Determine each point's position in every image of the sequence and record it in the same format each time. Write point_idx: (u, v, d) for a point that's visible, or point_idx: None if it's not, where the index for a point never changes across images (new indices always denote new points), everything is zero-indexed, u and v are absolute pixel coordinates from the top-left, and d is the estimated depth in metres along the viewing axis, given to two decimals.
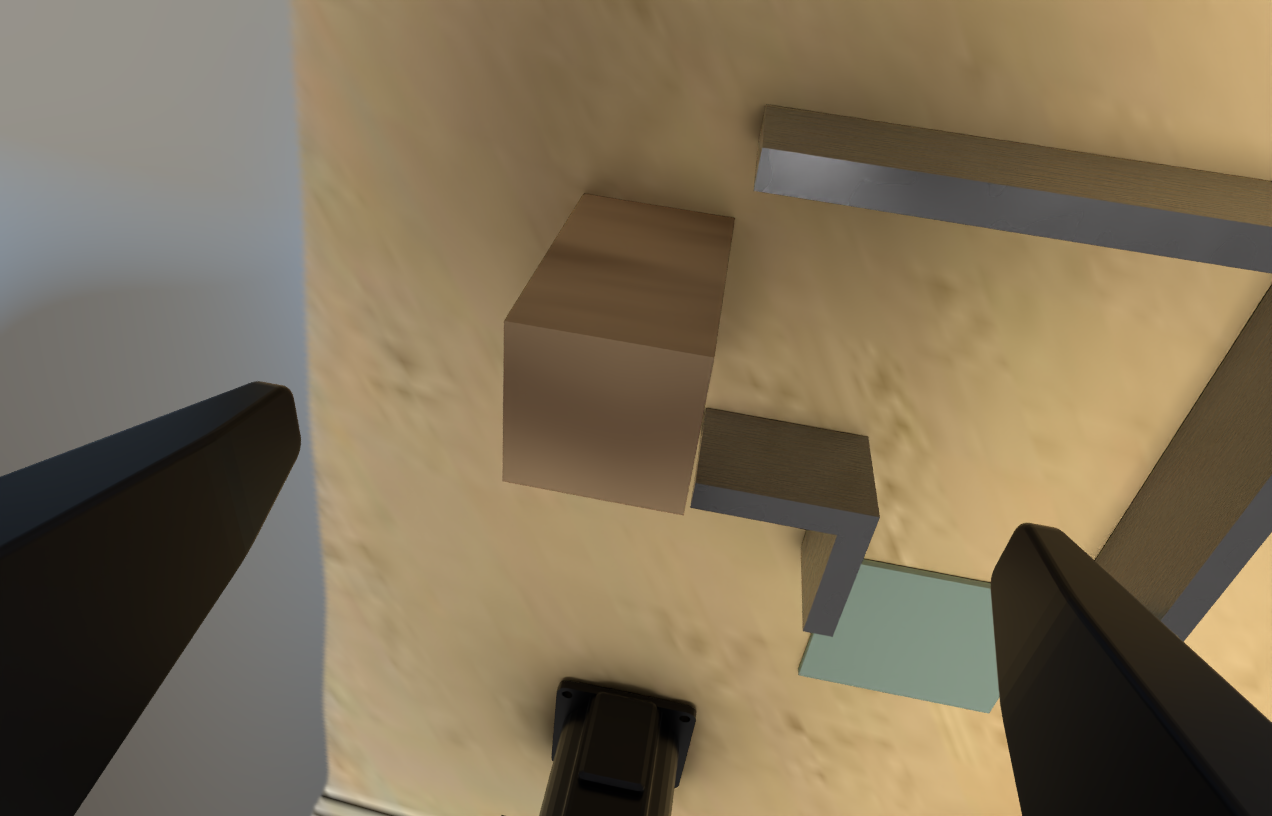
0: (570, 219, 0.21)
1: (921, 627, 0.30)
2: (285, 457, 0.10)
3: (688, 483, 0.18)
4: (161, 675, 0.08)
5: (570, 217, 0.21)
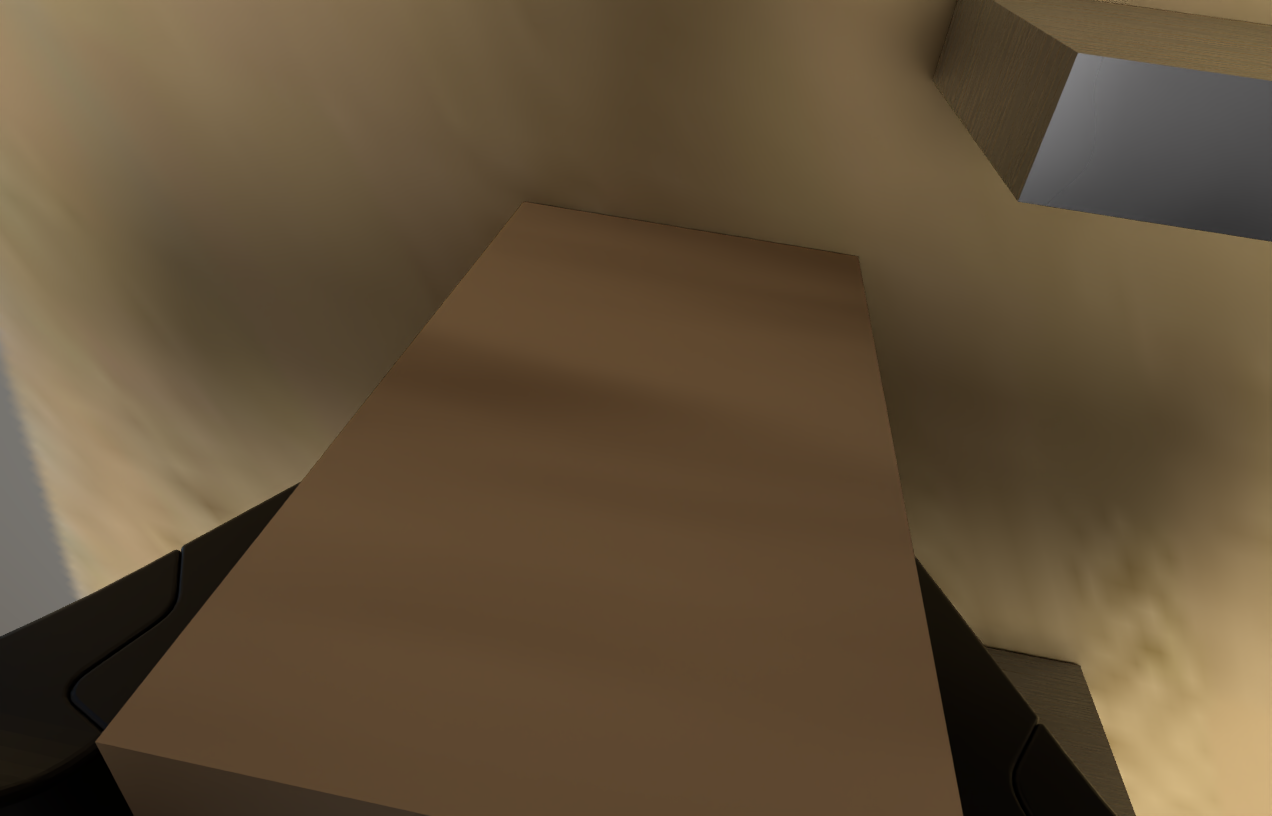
0: (480, 265, 0.09)
1: None
2: None
3: None
4: None
5: (481, 260, 0.09)
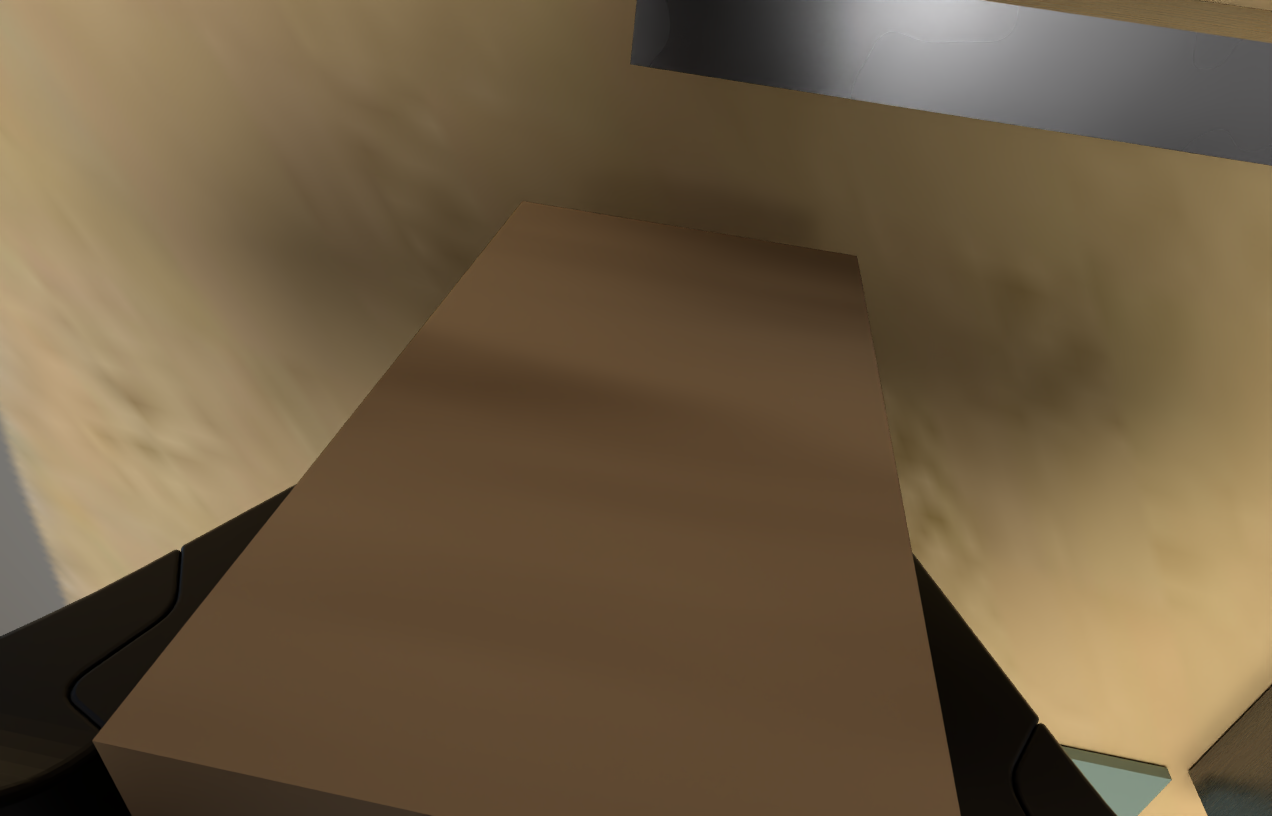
0: (478, 265, 0.09)
1: None
2: None
3: None
4: None
5: (479, 259, 0.09)
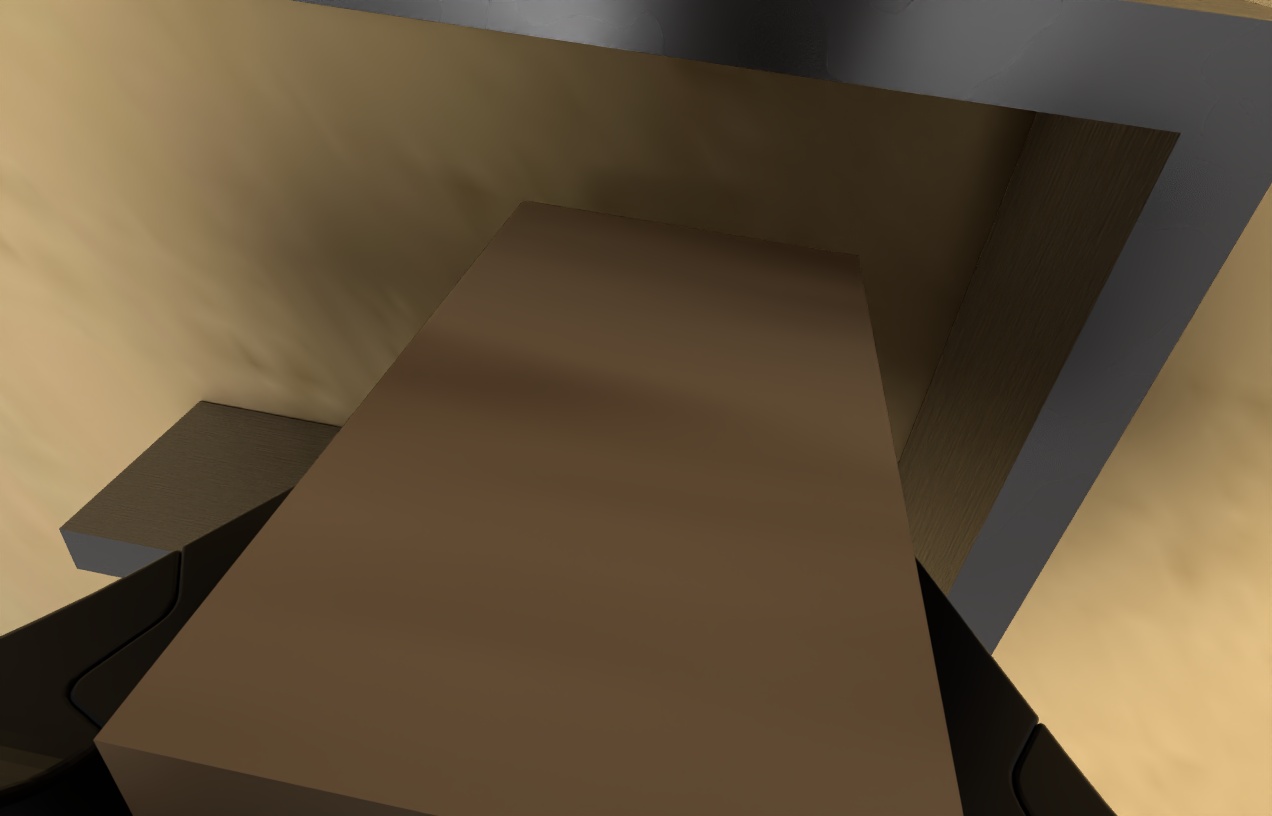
0: (479, 264, 0.09)
1: None
2: None
3: None
4: None
5: (480, 259, 0.09)
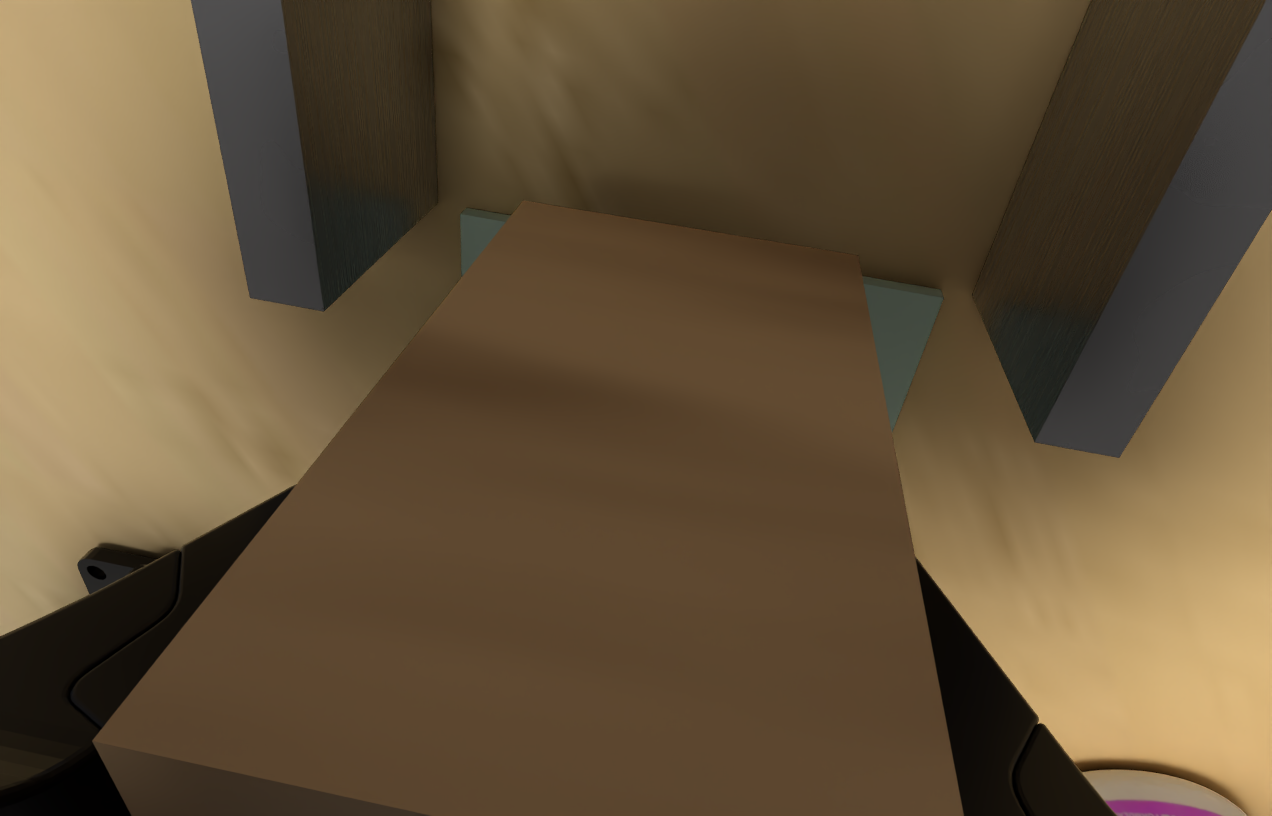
0: (479, 264, 0.09)
1: None
2: None
3: None
4: None
5: (480, 259, 0.09)
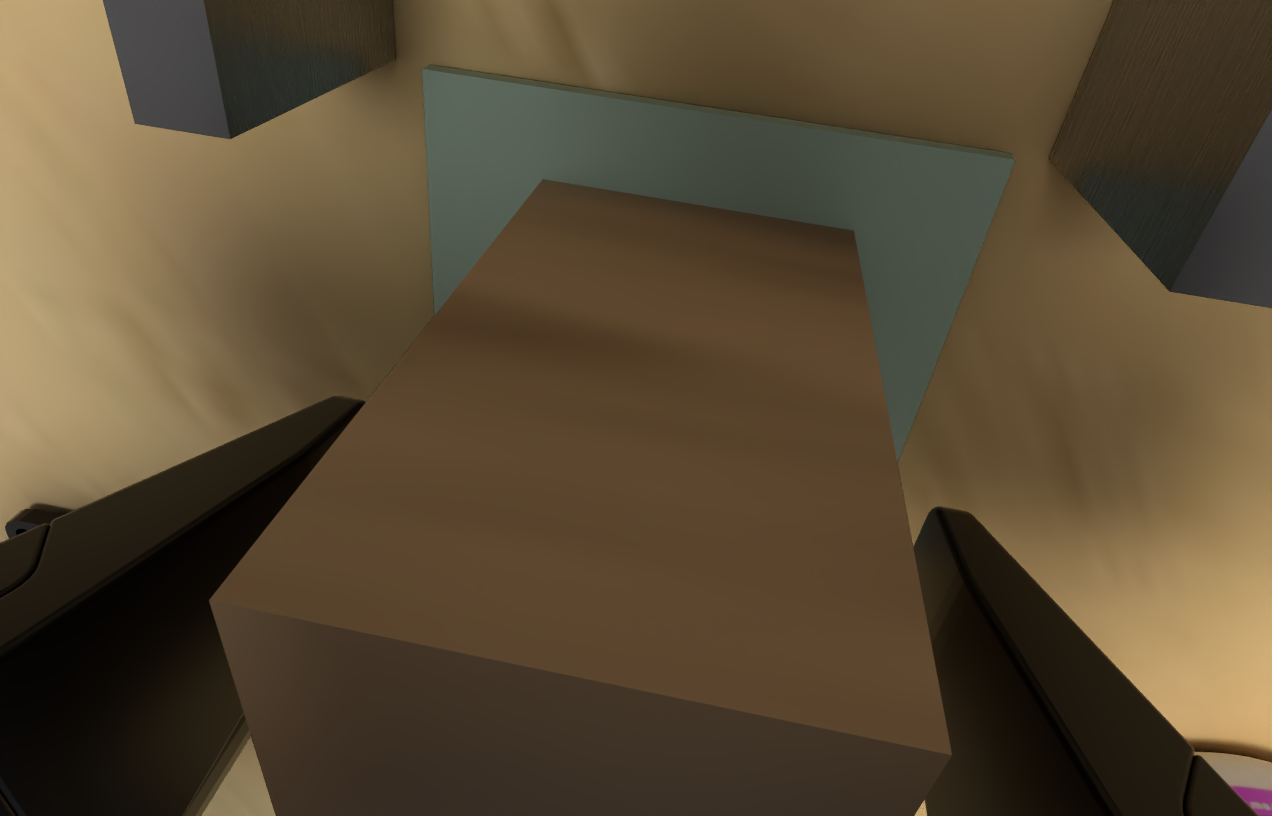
0: (505, 234, 0.10)
1: None
2: None
3: None
4: None
5: (506, 229, 0.10)
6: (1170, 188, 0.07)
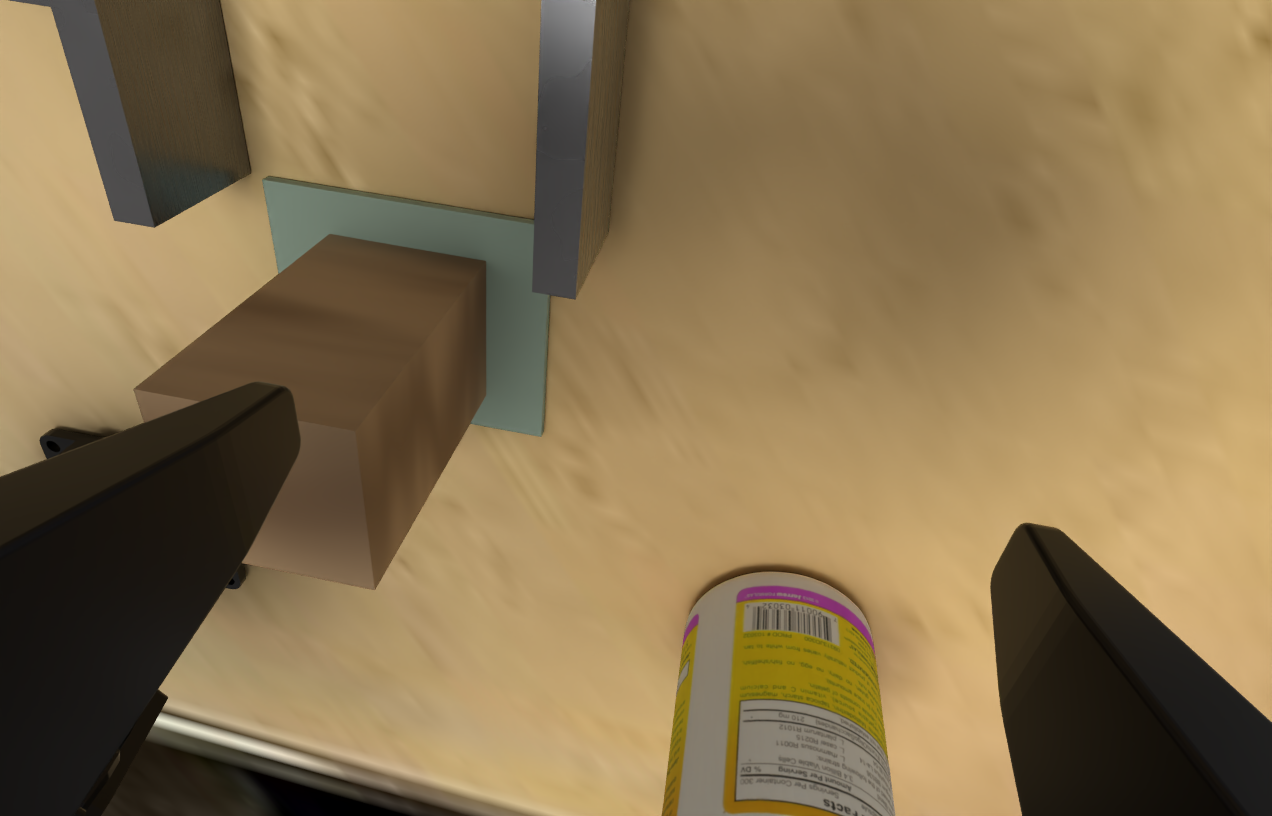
0: (293, 264, 0.20)
1: None
2: (285, 457, 0.10)
3: (369, 558, 0.17)
4: (161, 675, 0.08)
5: (295, 262, 0.20)
6: None
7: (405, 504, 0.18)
